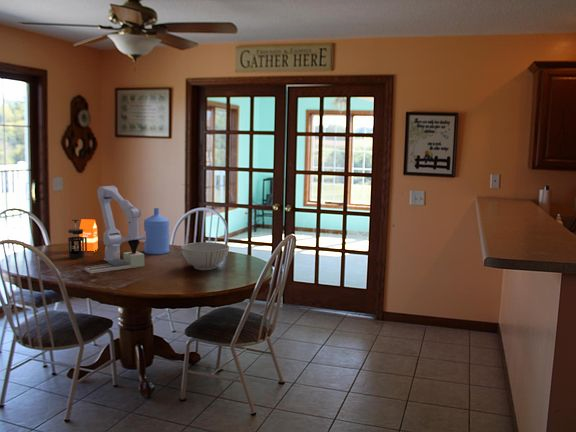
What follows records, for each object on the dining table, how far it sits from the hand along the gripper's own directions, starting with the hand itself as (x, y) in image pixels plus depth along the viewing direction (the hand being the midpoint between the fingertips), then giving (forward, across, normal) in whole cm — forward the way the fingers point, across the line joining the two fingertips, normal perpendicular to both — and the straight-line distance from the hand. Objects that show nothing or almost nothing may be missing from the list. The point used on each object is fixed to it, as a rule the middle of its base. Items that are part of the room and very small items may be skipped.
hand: (133, 253), depth 319 cm
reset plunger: (+4, 0, 0) cm, 4 cm away
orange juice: (+7, -6, +54) cm, 55 cm away
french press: (+7, -18, +38) cm, 43 cm away
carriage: (+5, -11, 0) cm, 12 cm away
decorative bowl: (+8, +30, -27) cm, 41 cm away
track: (+7, -10, 0) cm, 13 cm away
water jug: (+7, +28, +26) cm, 39 cm away
